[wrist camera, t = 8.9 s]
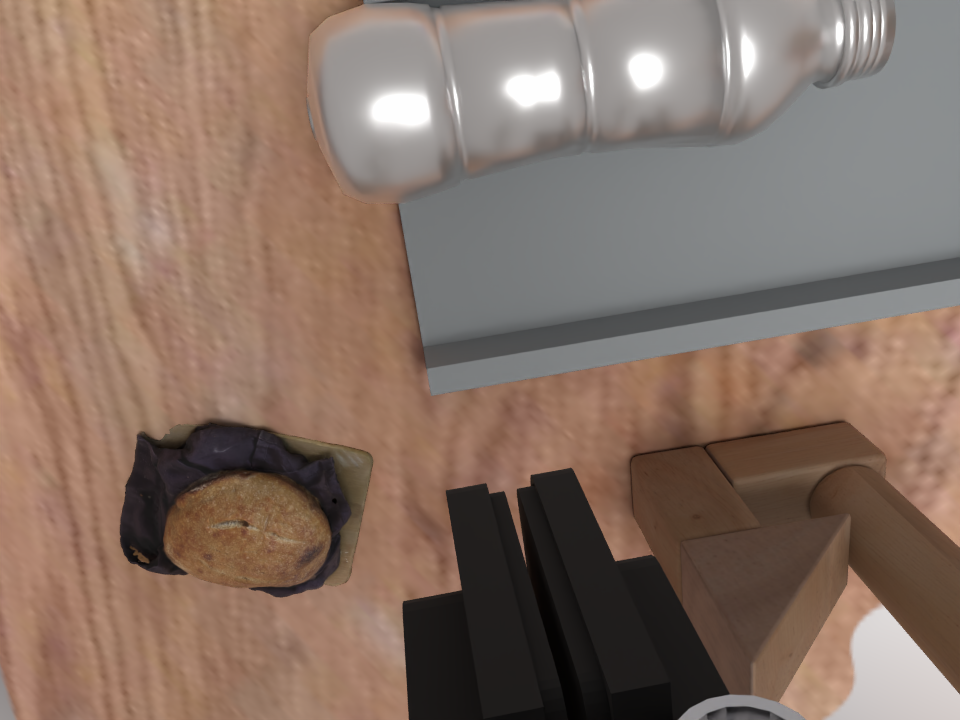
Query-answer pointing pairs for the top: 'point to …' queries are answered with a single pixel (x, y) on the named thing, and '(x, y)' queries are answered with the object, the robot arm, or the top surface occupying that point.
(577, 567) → the robot arm
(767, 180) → the tray
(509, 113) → the plastic bottle
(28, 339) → the top surface
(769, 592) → the toy block structure
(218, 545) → the bread roll
